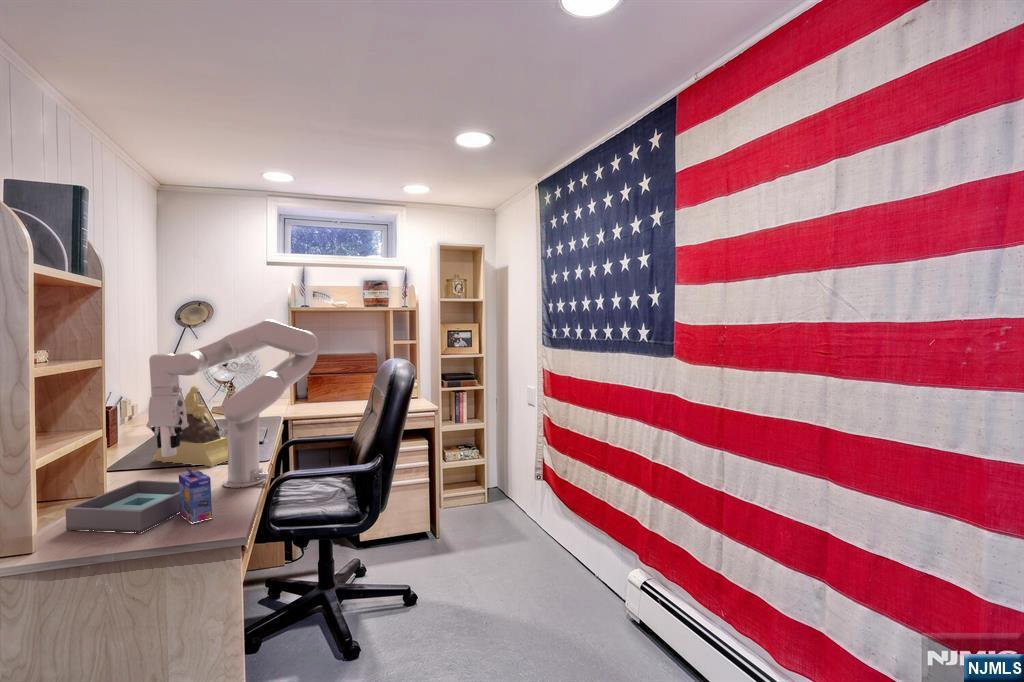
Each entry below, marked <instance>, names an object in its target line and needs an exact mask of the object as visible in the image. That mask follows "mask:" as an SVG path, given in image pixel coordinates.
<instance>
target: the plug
mask: <svg viewBox="0 0 1024 682" xmlns="http://www.w3.org/2000/svg"><path fill="white" fill-rule="evenodd" d="M160 433H161V449H162V457H169V456H174V455H176V454H177V450H176V447H175V448H171V439H170V437H171V436H172V433H171V428H170V427H167V426H160Z"/></svg>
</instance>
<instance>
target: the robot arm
mask: <svg viewBox="0 0 1024 682" xmlns="http://www.w3.org/2000/svg"><path fill="white" fill-rule="evenodd" d="M266 347H271V348H274V349H278V350H280V351H284V352H287V353H290V355H289V356H287V358H285V359H284V360H282V361H280V362H279V364H277V365H276V366H274V367H273V368H272V369H270V370H268V371H267V372H265V373H263V374H261V375H260V376H259V377H257V378H256V379H255V380H254V381H252V382H251V383H249V384H248V385H246V386H245V387H244V388H242V389H241V390H239V391H237V392H234V393H233V394H232V395H230V396H229V397H228V399H226V401H225V403H224V405H223V408H222V409H223V410H222V413H223V416H224V418H225V419H226V420H227V442H228V462H227V477H226V478H225V479H223V481H222V485H223V487H226V488H229V487H230V488H232V489H239V488H240V487H241V488H247V487H252V486H256V485H258V484H261V483H262V482H264V481H265V480H267V479H269V478H270V471H263V467H262V466H260V414H261V413H263V411H265V410H267V409H268V408H270V406H272V405H274V404H275V403H276V402H277V401H279V399H280V398H282V396H283V394H284V393H285V391H286V390H287V389H289V388H290V387H291V386H293V385H294V384H296V383H297V382H298V381H299V380H301V379H302V378H303V377H305V376H306V375H307V374H308V373H309V372H311V370H312V369H313V368H314V366H315V364H316V362H317V359H318V356H319V343H318V338H317V337H316V335H315V334H314V333H313V332H311V331H310V330H303V329H299V328H296V327H293V326H290V325H287V324H285V323H281V322H279V321H277V320H276V319H265V320H262V321H261V322H257V323H255V324H253V325H250V326H247V327H245V328H243V329H240V330H237V331H234V332H232V333H230V334H228V335H226V336H224V337H222V338H221V339H219V340H217V341H215V342H211V343H210V344H207V345H205V346H203V347H200V348H197V349H194V350H191V351H188V352H185V353H176V354H175V353H156V354H152V355H151V356H149V359H148V360H149V361H148V362H149V376H150V377H149V378H150V379H149V380H150V390H151V391H150V393H151V396H150V397H149V403H148V421H147V423H146V425H145V426H146V428H147V429H149V430H150V431H152V433H153V434H154V436H155V437H156V446H157V449H158V448H161V433H160V426H167V427H170V428H171V433H172V436H171V437H170V439H171V448H175V447H178V446H180V434H181V433H182V431H183V430H184V429H185V428H186V427H188V426H189V424H188V422H187V414H186V407H185V398H184V397H183V394H181V392H183V389H182V388H181V387H180V379H179V377H180V376H185V377H187V376H195V375H197V374H199V373H201V372H203V371H206V370H208V369H210V368H212V367H215V366H217V365H220V364H223V363H225V362H228V361H232V360H236V359H239V358H242V357H245V356H248V355H249V354H252V353H254V352H257V351H260V350H262V349H265V348H266ZM180 424H181V426H180ZM175 427H176V429H175ZM241 488H240V489H241Z"/></svg>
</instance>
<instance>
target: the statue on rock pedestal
mask: <svg viewBox="0 0 1024 682" xmlns="http://www.w3.org/2000/svg"><path fill="white" fill-rule="evenodd" d="M199 389H200V388H199V387H198V386H197V385H193V386H191V387H190V390H189V392H188V393H187V394H186V396H185V397H184V402H185V407H186V414H187V422H188V424H189V426H188V427H186V428H185V429H184V430H183V431H182V433H181V434H180V446H178V447H176V450H177V454H176V455H174V456H169V457H162V449H161V448H158V447H157V451H156V453H155V454H154V456H153V457H152V460H156V461H165V462H164V463H166V462H175V463H192V464H199V465H205V466H214V467H216V466H215V465H217V464H220V463H222V462H225V461H228V437H227V436H226V437H223V436H221V434H220V433H219V431H218V430H217V429H216V428H215V427H214V425H213V421H212V418H211V417H210V415H209V414H208V413H207V412H206V405H204V404H200V400H199V395H198V392H199ZM180 426H181V424H180ZM175 429H176V427H175ZM156 461H155V462H156ZM175 463H174V464H175ZM220 465H221V464H220ZM205 466H204V467H205ZM217 466H218V465H217Z"/></svg>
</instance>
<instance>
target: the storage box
mask: <svg viewBox="0 0 1024 682" xmlns="http://www.w3.org/2000/svg"><path fill="white" fill-rule="evenodd" d="M179 512H180V493H179V481H167V480H145V479H143V480H139V479H138V480H137V479H136V480H135V481H132V482H130V483H128V484H125V485H122V486H120V487H117V488H115V489H112V490H109V491H107V492H105V493H102V494H99V495H96V496H93V497H92V498H89V499H87V500H86V499H85V500H84V501H82V502H78V503H76V504H73V505H70V506H68V507H66V508H65V530H66V529H67V530H89V531H93V530H94V531H115V532H134V533H135V532H136V533H141V532H143V531H145V530H147V529H149V528H151V527H153V526H155V525H157V524H159V523H161V522H163V521H165V520H167V519H169V518H170V517H172V516H174V515H176V514H177V513H179ZM176 516H177V515H176ZM174 517H175V516H174ZM169 520H170V519H169ZM167 521H168V520H167ZM165 522H166V521H165ZM163 523H164V522H163ZM161 524H162V523H161ZM159 525H160V524H159ZM157 526H158V525H157ZM155 527H156V526H155Z"/></svg>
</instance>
